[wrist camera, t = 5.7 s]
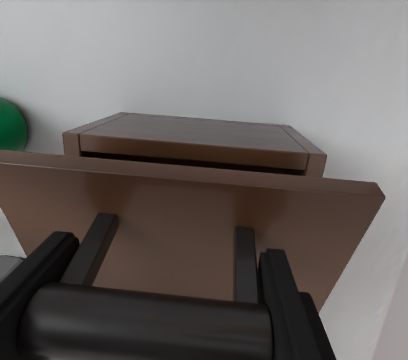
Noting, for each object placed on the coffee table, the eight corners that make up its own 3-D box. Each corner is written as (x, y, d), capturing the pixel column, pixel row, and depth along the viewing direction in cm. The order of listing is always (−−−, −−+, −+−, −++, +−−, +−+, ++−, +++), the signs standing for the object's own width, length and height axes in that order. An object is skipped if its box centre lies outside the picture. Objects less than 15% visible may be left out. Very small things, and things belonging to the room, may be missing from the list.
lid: (-9, 148, 10) (-202, 287, 5) (376, 181, 9) (502, 366, 5) (85, 343, 19) (42, 450, 15) (278, 365, 19) (292, 484, 14)
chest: (120, 112, 22) (61, 132, 14) (290, 125, 21) (328, 154, 13) (126, 266, 27) (85, 343, 19) (262, 280, 27) (278, 365, 19)
